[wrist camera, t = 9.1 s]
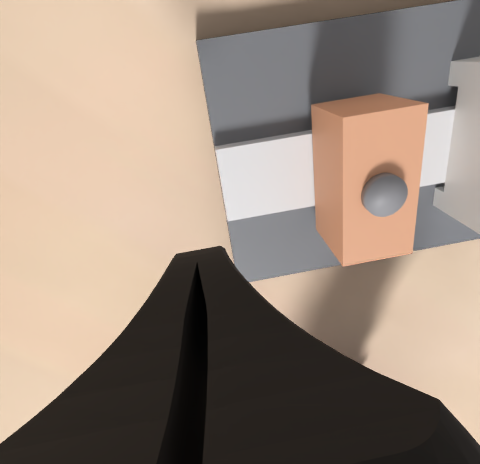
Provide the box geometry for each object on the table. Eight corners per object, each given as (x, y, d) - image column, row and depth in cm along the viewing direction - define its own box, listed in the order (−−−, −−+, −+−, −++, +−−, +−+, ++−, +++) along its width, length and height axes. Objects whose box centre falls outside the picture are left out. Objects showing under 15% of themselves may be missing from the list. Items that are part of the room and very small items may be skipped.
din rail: (635, -27, 16) (725, -43, 13) (559, 213, 21) (611, 236, 19) (195, 41, 15) (197, 38, 12) (236, 274, 20) (242, 307, 18)
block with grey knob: (379, 93, 15) (436, 104, 12) (373, 218, 18) (417, 258, 14) (310, 104, 15) (347, 119, 11) (316, 229, 18) (346, 271, 14)
